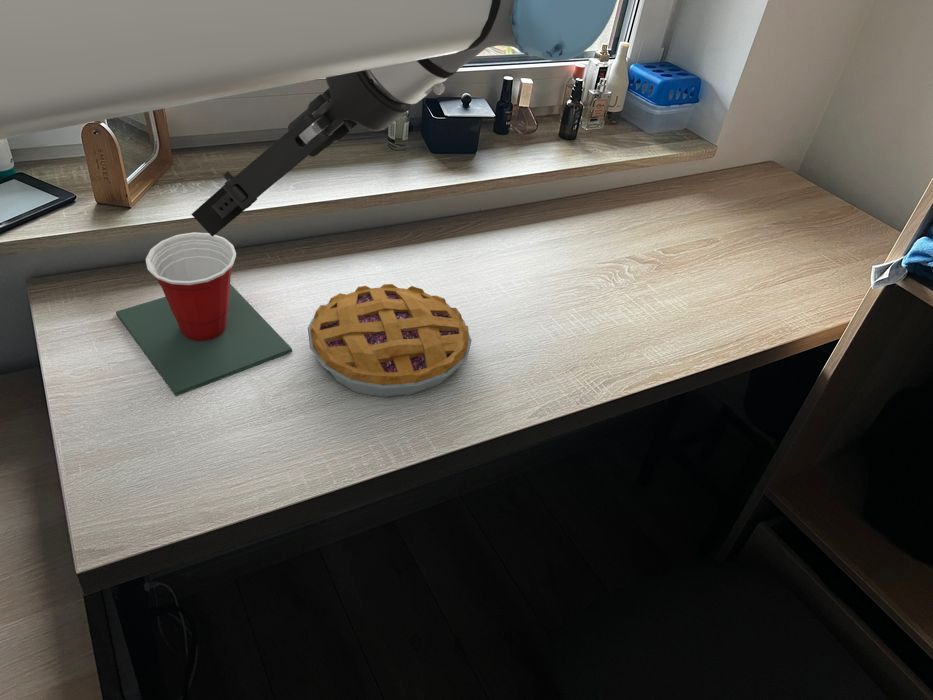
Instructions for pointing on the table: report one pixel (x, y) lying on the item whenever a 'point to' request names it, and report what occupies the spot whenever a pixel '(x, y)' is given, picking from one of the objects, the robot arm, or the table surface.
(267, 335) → the placemat
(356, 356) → the pie
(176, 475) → the table surface
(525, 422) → the table surface
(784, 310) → the table surface
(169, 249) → the plastic cup
